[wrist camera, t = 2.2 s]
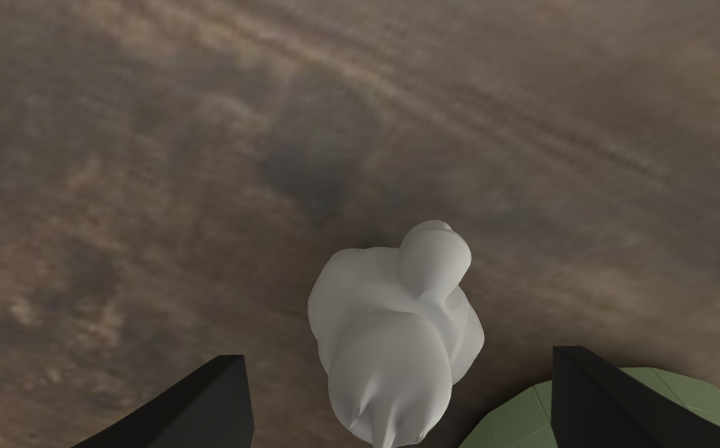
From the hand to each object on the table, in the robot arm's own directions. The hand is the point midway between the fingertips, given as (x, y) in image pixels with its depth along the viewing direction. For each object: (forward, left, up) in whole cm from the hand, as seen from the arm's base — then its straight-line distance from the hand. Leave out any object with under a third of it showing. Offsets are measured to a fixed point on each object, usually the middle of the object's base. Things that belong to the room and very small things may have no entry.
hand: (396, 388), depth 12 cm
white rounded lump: (0, 0, -6) cm, 6 cm away
